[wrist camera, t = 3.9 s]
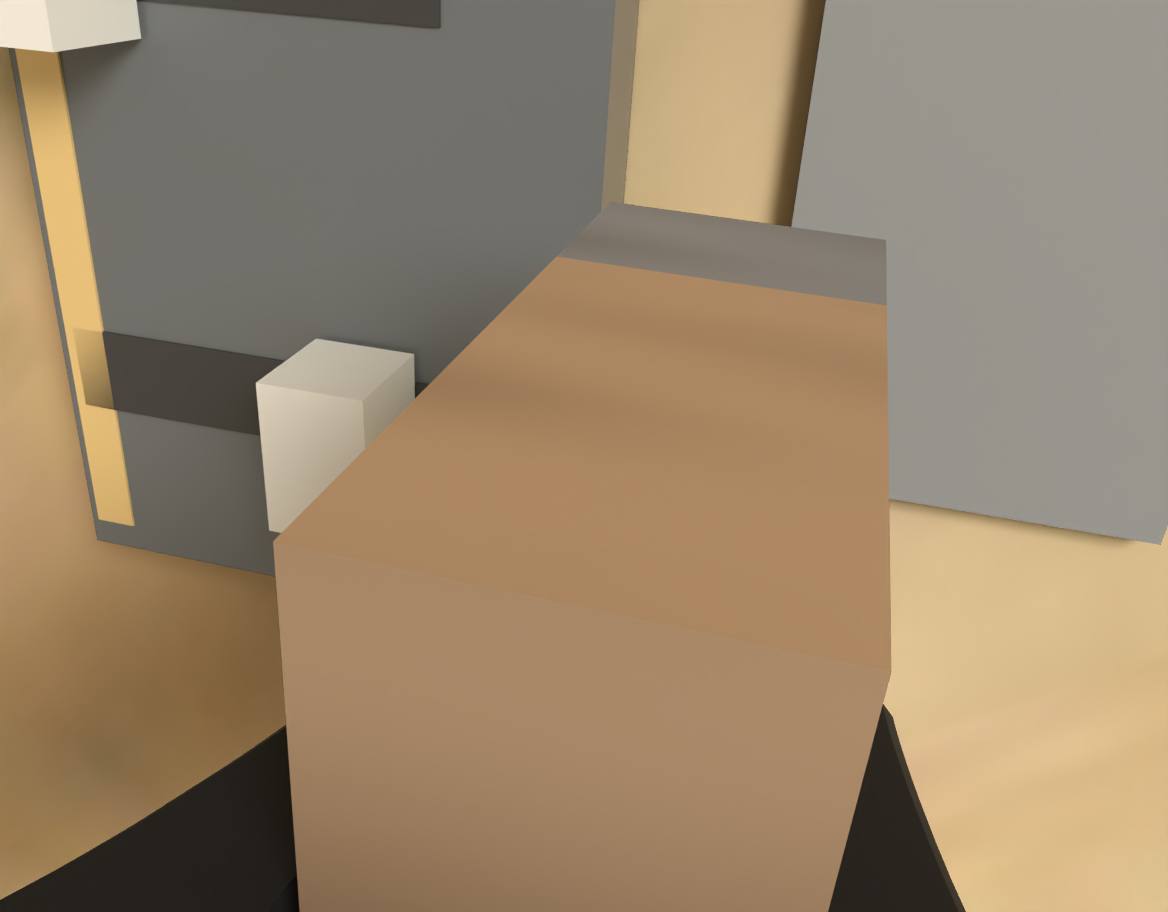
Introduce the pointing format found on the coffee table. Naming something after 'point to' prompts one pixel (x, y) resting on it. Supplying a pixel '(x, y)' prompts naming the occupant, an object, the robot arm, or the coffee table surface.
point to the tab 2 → (324, 417)
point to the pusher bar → (607, 591)
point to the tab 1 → (67, 23)
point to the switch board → (298, 215)
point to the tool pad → (1009, 245)
